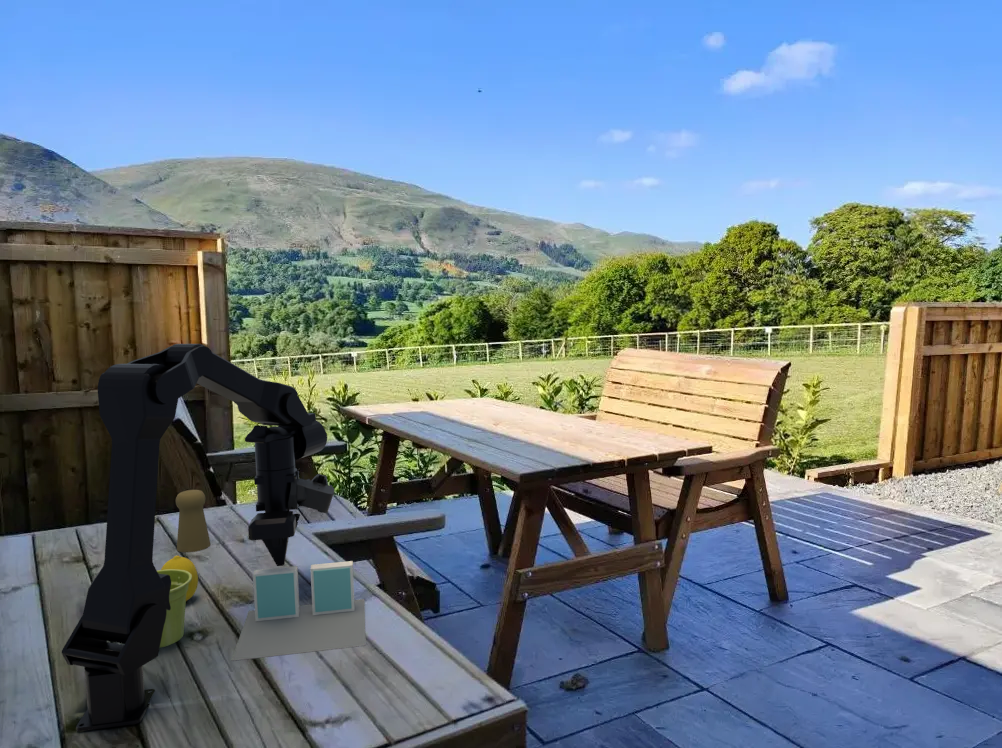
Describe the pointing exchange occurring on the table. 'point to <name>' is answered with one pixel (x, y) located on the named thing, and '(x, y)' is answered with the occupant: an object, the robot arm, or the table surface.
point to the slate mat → (301, 633)
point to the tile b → (332, 587)
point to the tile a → (276, 593)
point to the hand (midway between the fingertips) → (280, 565)
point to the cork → (192, 522)
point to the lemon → (188, 566)
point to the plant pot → (175, 606)
